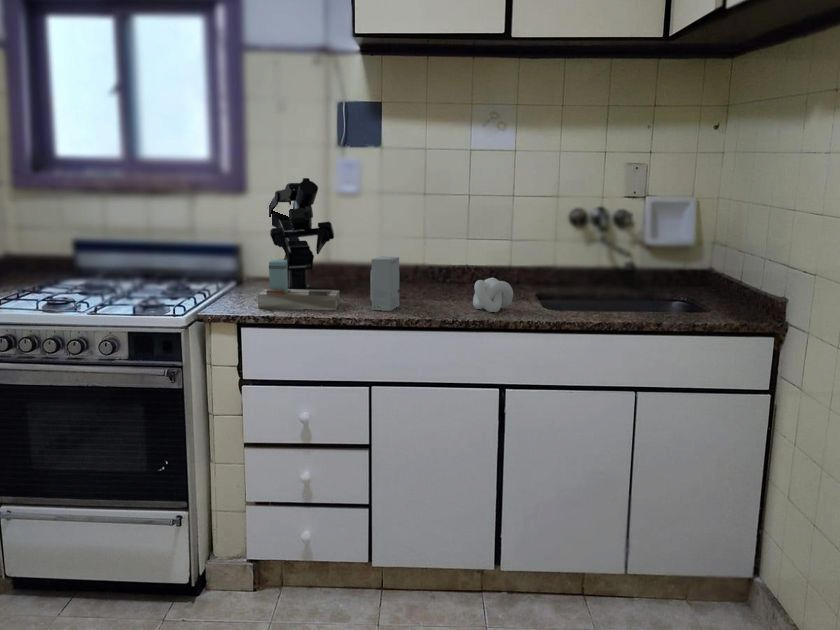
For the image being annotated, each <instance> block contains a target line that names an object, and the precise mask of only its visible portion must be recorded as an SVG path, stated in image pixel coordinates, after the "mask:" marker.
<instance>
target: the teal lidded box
mask: <svg viewBox="0 0 840 630" xmlns="http://www.w3.org/2000/svg"><path fill="white" fill-rule="evenodd" d="M287 267H288V263H287V260H284V259H271V260H270V261H268V277H269V289H270V290H285V294H288V286H289V285H288V284H289V279H288V271H287Z"/></svg>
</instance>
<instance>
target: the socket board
mask: <svg viewBox="0 0 840 630" xmlns="http://www.w3.org/2000/svg"><path fill="white" fill-rule="evenodd" d="M340 294H341V293H340V290H339V289H288V294H285V290H270V288H264V289H263V290H262V291H261V292H259V293H258V294H257V309H258V308H259V309H261V308H262V309H264V310H265V309H266V310H303V309H312V310H311V311H314V310H315V311H316V310H317V311H336V309H338V307H339V306H340V303H341V300H340V299H341V298H340V297H341V295H340Z"/></svg>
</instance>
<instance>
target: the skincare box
mask: <svg viewBox="0 0 840 630" xmlns="http://www.w3.org/2000/svg"><path fill="white" fill-rule="evenodd" d="M371 263H372V301H371V310H372V311H380V310H381V311H382V312H392V311H393V310H395V309H397V308H399V307H400V257H399V256H378V257H373V258H371ZM396 307H397V308H396ZM394 308H395V309H394ZM381 311H380V312H381Z"/></svg>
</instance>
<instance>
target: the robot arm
mask: <svg viewBox="0 0 840 630" xmlns="http://www.w3.org/2000/svg"><path fill="white" fill-rule="evenodd" d="M285 185H286V186H285V188H284V189H280V190H279V189H278V190H276V191H275V193H274V197H273V198H272V199H271V200H272V201H271V200H270V201H271V203H270V205H269V217H271V214H272V225H271V226H272V227H273V228H271V229H270V231H269V232H270V234H269V235H270V237H271V239H272V240H271V241H272V243H273V245H274V246H277V247H279V248H282V250H283V251H284V257H283V260H287V263H288V267H287V272H288V284H289V285H288V289H306V290H308V288H309V287H310V284H307V283H308V280H307V279H308V277H307V276H308V275H307V274H308V270H313V266H314V258H315V255H314V254H313V251H312V250H311V246H310V245H309V243H308V241H307V240H300V238H305V237H312V236H313V237H314V236H317V237H316V248H315V251H316V255H319V254H320V253H321V250H322V248H323V247H324V246H325V245H326V243H328V242H330V240H333V239H334V238H335V233H334V231H335V230H334V228H333V225H332V222H330V221H322V222H317V227H315V228H313V227H312V225H313V220H312V219H313V217H314V211H313V207H312V205H314V204H315V201H316V200H315V199H316V198H317V193H318V191H319V186H318V185H317V184H316V183H315V182H314V181H312V180H310V178H309V177H307V178H306V177H303V178H302V181H301V182H288V183H287V184H285ZM291 202H293V203H292V205H293V209H290V210H289V217H288V216H286V215H283V214H280V213H278V212H275V211H273V209H274V208H275V207H278V205H279V203H288V204H289V206H290V205H291Z"/></svg>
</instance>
